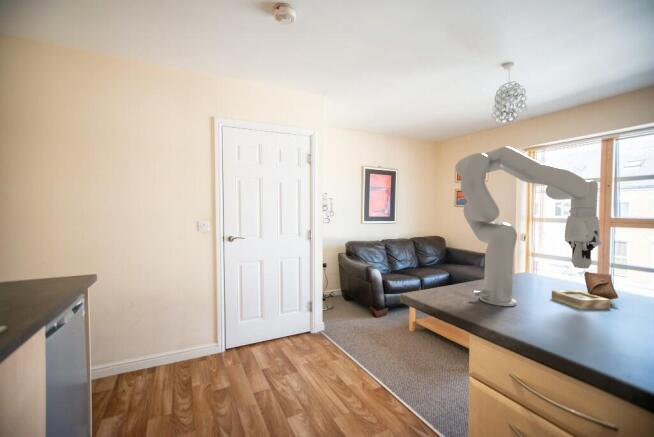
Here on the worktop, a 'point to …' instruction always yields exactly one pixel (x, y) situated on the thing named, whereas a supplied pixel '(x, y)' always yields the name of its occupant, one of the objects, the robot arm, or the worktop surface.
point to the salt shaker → (580, 257)
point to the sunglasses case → (600, 285)
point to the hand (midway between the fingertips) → (581, 259)
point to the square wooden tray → (581, 299)
